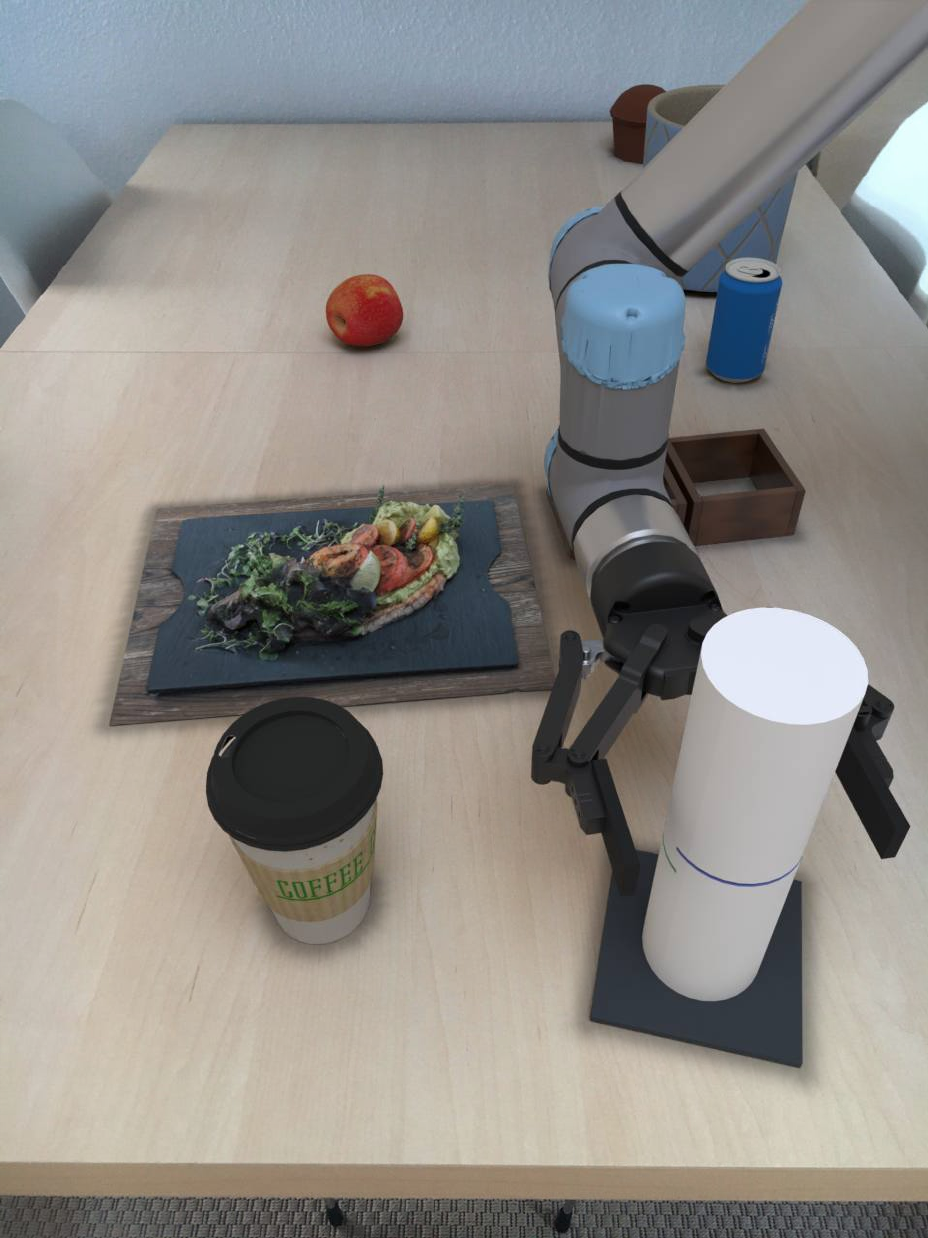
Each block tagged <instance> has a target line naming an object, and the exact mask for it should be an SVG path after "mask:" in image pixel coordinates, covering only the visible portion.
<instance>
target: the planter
mask: <svg viewBox="0 0 928 1238" xmlns="http://www.w3.org/2000/svg"><path fill="white" fill-rule="evenodd" d="M725 85H726V84H700V85H691V86H683V87H677V88H674V89H670V90H666V91H667V92H664V93H662V94H660V95H658V96H656V97H654V98H653V99H652V100H651V101H650V102H649V104H648V108H647V121H646V134H645V147H644V160H643V163H642V169H643V168H644V167H645V166H646V165H647V164H648V163H649V162H650V161H651V160H652V159H653V158H654V157H655V156H656V155H657V154H658V153H659V152H660V151H661V150H662V149H663V148H664V147H665V146H666V145H667V144H668V143H669V142H670V141H671V140H672V139H673V138H674V137H675V136H676V135H677V134H678V133H679V132H680V131H681V130H682V129H683V128H684V127H685V126H686V125H687V124H688V123H689V122H690V121H691V120H692V119H693V117H694V116H695V115H696V114H697V113H698V112H699V111H700V110H701V109H702V108H703V107H704V106H705V105H706V104H707V103H708V102H709V101H710V100H711V99H712V98H713V97H714V96H715V95H716V94H717V93H718V92H719V91H720V90H721V89H722V88H723V87H724V86H725ZM798 174H799V171H798V172H797V173H796V174H795V175H793V176H792V177H791V178H790V179H789V180H788V181H787V182H786V183H785V184H784V185H782V186H781V187H780V188H779V189H778V190H777V191H776V192H775V193H774V194H772V195H771V196H770V197H769V198H768V199H767V200H766V201H765V202H764V203H763V204H761V205H760V206H759V207H758V208H757V209H756V210H755V211H754V212H753V213H752V214H750V215H749V216H748V217H747V218H746V219H745V220H744V221H743V222H742V223H741V224H739V225H738V226H737V227H736V228H735V229H734V230H733V231H732V232H731V233H729V234H728V235H727V236H726V237H725V238H724V239H723V240H722V241H721V242H720V243H718V244H717V245H716V246H715V247H714V248H713V249H712V250H711V251H710V252H709V253H707V254H706V255H705V256H704V257H703V258H702V259H701V260H700V261H699V262H698V263H696V264H695V265H694V266H693V267H692V268H691V270H690V271H689V272H688V273H687V274H686V275H685V276H683V277H682V278H681V279H680V280H679V281H678V284H679V285H680V286H681V288H682V290H685V291H686V290H687V291H695V292H705V293H717V291H718V285H719V279H720V276H721V274H722V273H723V272H724V271H725V268H726V265H727V263H728V262H730V261H732V260H735V259H739V258H759V259H764V260H768V261H770V262H773V263H774V264H776V265H777V260H778V256H779V252H780V248H781V244H782V239H783V236H784V232H785V227H786V223H787V219H788V215H789V212H790V211H789V210H790V207H791V202H792V198H793V194H794V191H795V187H796V182H797V179H798Z"/></svg>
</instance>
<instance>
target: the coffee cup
mask: <svg viewBox="0 0 928 1238" xmlns="http://www.w3.org/2000/svg"><path fill="white" fill-rule="evenodd" d="M230 741H231V742H230ZM229 742H230V743H229ZM224 748H225V749H224ZM223 749H224V750H223ZM222 751H223V752H222ZM221 752H222V754H221ZM220 754H221V755H220ZM383 778H384V765H383V758H382V755H381V753H380V749H379V746H378V745H377V742H376V740H375V738H374V737H373V735H372V734H371V733H370V731H369V729H367V728H366V727H365V726H364V725H363V724H362V723H361V722H360V721H359V720H358V719H357V718H356V717H355V716H354V714H352V713H351V712H350V711H349V710H347V709H345V708H344V707H343V706H339V705H337V704H335V703H332V702H329V701H327V700H323V699H318V698H313V697H291V698H282V699H278V700H274V701H270V702H267V703H265V704H262V705H260V706H257V707H255V708H254V709H252V710H250V711H248V712H247V713H245V714H241V715H240V716H239V717H238V718H237V719H236V720H234V721H233V722H232V723H231V724H230V725H229V727H228V728H227V729H226V730H225V731H224V732H223V733H222V735H221V737H220V738H219V741H218V742H217V744H216V746H215V749H214V753H213V755H212V757H211V759H210V762H209V765H208V769H207V772H206V781H205V797H206V802H207V807H208V810H209V811H210V813H211V816H212V818H213V820H214V821H215V822H216V824H217V825H218V826H219V827H220V829H221V830H222V831H223V832H225V833H226V834H227V835H228V837H229V839H230V841H231V843H232V845H233V848H234V850H235V851H236V852H237V854H238V856H239V858H240V860H241V861H242V863H243V866H244V867H245V869H246V871H247V872H248V874H249V877H251V880H252V881H253V884H254V886H255V887H256V889H257V891H258V893H259V894H260V896H261V898H262V900H263V902H265V904H266V905H267V906H268V908H269V909H270V910H271V912H272V914H273V916H274V917H275V919H276V921H277V923H278V925H279V927H280V929H282V931H283V932H284V933H285V934H287V935H288V936H289V937H290V938H292V939H294V940H296V941H298V942H301V943H304V944H308V945H326V944H330V943H333V942H336V941H339V940H341V939H343V938H345V937H347V936H348V935H350V934H351V933H353V932H354V931H355V930H356V929H357V928H358V926H360V924H361V923H362V922H363V921H364V919H365V917H366V915H367V912H368V910H369V906H370V900H371V885H372V884H371V883H372V879H373V875H374V867H375V854H376V853H375V852H376V838H377V837H376V836H377V835H376V834H377V819H378V796H379V794H380V791H381V789H382V784H383Z"/></svg>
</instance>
